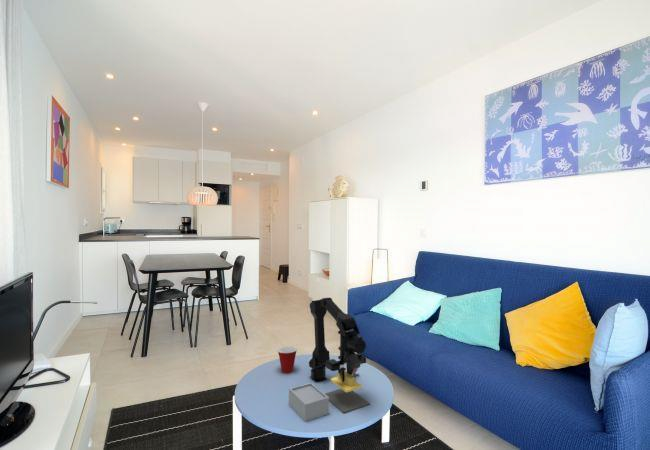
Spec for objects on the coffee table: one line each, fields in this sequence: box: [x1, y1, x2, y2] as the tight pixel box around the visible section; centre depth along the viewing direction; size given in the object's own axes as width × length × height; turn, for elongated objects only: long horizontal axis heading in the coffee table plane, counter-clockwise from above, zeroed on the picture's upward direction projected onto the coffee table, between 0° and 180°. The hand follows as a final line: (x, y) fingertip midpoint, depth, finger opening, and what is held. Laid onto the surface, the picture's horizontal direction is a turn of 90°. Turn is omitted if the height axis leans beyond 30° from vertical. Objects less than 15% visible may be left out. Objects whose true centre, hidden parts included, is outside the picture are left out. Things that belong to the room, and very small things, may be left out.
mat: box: [324, 388, 371, 414], centre depth 150 cm, size 14×17×1 cm
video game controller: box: [352, 368, 359, 377], centre depth 173 cm, size 10×5×7 cm, turn 149°
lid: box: [330, 370, 363, 393], centre depth 150 cm, size 8×12×4 cm
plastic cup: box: [276, 345, 298, 374], centre depth 179 cm, size 11×11×12 cm
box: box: [288, 382, 330, 423], centre depth 142 cm, size 11×15×7 cm
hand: (345, 380), depth 150 cm, fingers closed on lid, 3 cm apart
